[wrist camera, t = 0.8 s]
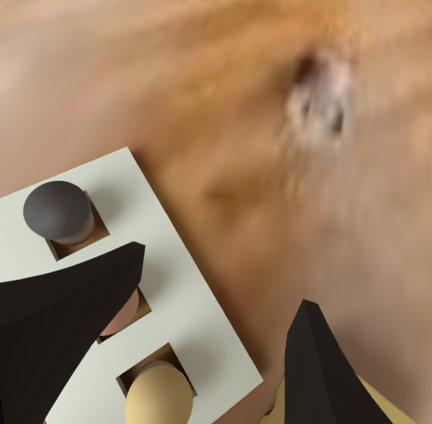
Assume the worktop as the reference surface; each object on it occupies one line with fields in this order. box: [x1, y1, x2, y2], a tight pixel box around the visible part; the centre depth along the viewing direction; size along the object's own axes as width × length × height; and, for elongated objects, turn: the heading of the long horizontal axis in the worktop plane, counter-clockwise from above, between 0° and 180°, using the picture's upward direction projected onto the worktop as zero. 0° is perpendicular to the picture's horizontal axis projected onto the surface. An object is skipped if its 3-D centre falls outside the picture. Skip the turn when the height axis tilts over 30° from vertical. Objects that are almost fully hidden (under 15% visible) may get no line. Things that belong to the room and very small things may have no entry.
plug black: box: [23, 181, 95, 246], centre depth 25 cm, size 5×5×5 cm
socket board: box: [0, 147, 264, 424], centre depth 27 cm, size 16×26×2 cm, turn 32°
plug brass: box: [125, 360, 193, 424], centre depth 23 cm, size 5×5×5 cm
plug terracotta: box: [100, 288, 139, 336], centre depth 24 cm, size 5×5×5 cm
